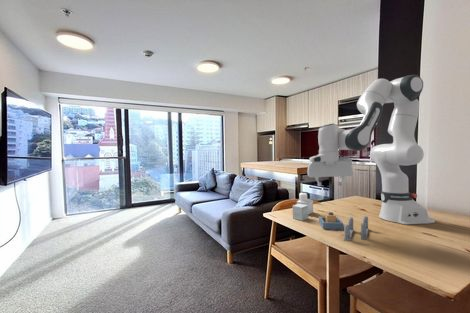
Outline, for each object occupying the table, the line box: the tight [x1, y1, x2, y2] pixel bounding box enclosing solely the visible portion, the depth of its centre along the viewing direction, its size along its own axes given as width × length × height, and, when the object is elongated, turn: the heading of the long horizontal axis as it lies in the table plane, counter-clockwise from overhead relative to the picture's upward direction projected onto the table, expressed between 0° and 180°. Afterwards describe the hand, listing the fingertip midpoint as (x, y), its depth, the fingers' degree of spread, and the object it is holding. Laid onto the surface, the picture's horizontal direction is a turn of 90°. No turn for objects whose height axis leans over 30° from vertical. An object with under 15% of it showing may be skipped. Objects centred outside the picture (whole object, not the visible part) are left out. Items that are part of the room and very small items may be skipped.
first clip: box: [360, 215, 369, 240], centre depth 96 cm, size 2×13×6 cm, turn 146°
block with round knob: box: [324, 211, 337, 222], centre depth 107 cm, size 4×4×6 cm
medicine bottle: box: [296, 191, 314, 216], centre depth 130 cm, size 7×7×12 cm
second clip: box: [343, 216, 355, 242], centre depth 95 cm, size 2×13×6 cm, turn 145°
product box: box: [292, 203, 309, 222], centre depth 120 cm, size 6×6×7 cm
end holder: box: [318, 216, 344, 231], centre depth 107 cm, size 9×9×3 cm
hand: (329, 185), depth 106 cm, fingers open, 8 cm apart
